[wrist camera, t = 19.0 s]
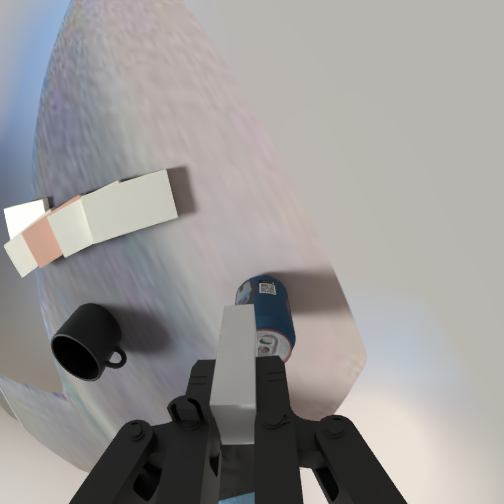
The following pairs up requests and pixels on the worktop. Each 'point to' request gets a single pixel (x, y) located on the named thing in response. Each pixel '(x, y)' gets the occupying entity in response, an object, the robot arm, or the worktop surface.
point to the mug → (88, 343)
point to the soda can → (269, 315)
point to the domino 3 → (44, 238)
